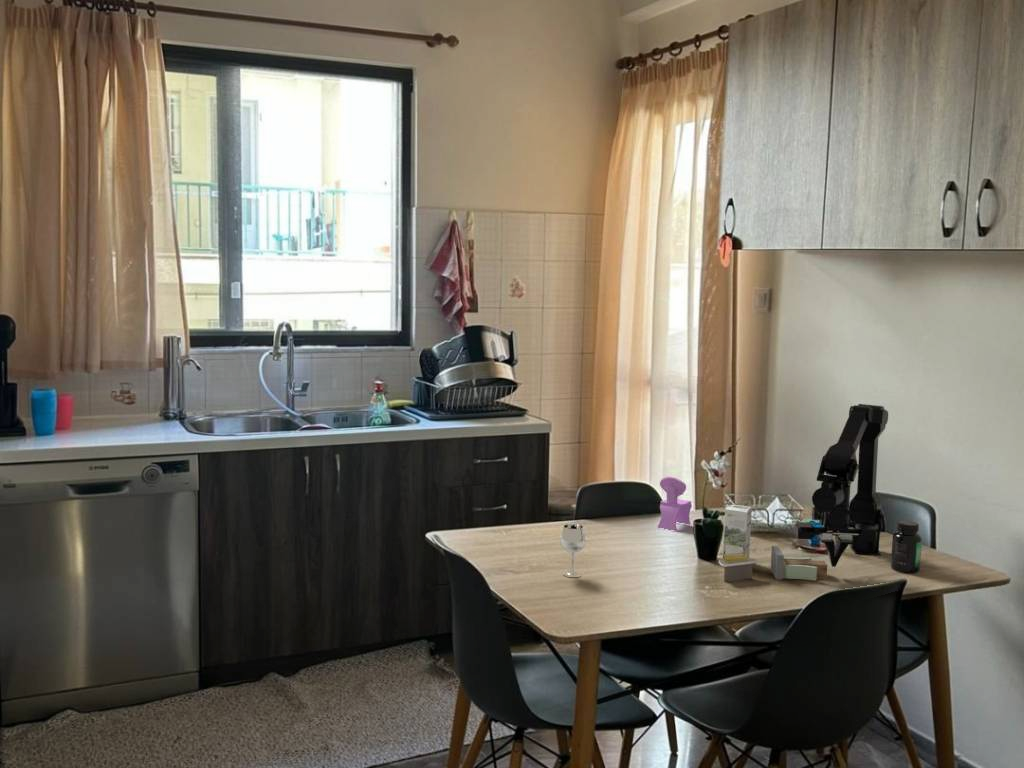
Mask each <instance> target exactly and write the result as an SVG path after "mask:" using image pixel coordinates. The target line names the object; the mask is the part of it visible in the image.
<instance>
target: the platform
mask: <svg viewBox="0 0 1024 768" xmlns="http://www.w3.org/2000/svg"><path fill="white" fill-rule="evenodd" d="M740 553H741V554H740ZM740 553H739V555H738V553H737V555H736V553H731V554H730V555H729V554H728V556H727V554H726V555H725V554H724V559H723V558H721V559H718V563H719V565H720V566H721V567H724V572H723V582H724V583H726V582H732V581H741V580H747V579H748V580H749V579H753V578H752V577H753V564H758V562H759V560H758V559H756V558H752V557H749V558H748V554H744V552H740Z"/></svg>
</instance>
